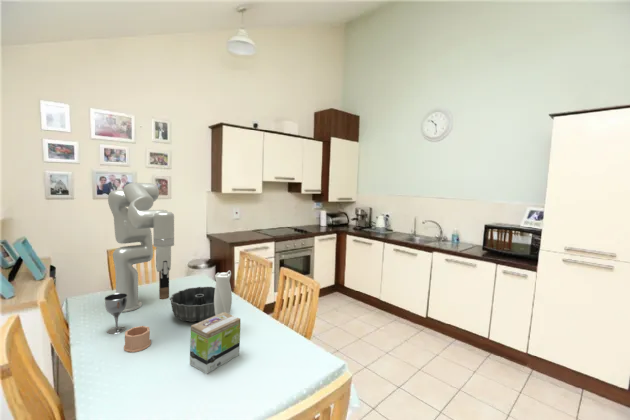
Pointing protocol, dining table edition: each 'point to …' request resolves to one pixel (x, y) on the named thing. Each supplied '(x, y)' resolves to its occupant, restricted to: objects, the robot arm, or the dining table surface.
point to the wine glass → (116, 309)
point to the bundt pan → (194, 304)
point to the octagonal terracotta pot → (137, 339)
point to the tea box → (214, 341)
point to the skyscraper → (222, 293)
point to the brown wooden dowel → (163, 289)
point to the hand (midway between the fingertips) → (164, 285)
